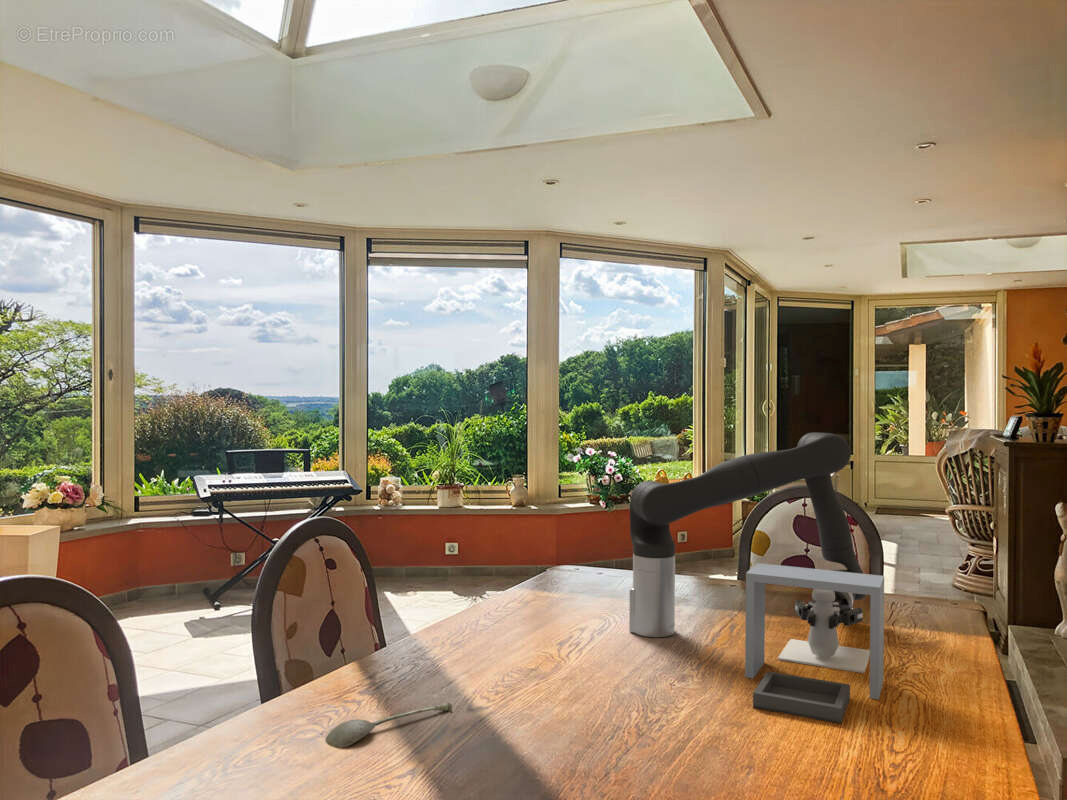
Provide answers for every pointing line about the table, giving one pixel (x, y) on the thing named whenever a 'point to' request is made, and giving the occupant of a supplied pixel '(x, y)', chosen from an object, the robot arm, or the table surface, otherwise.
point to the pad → (841, 660)
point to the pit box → (802, 696)
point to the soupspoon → (367, 727)
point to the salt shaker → (823, 625)
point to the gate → (813, 580)
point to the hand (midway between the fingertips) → (821, 622)
